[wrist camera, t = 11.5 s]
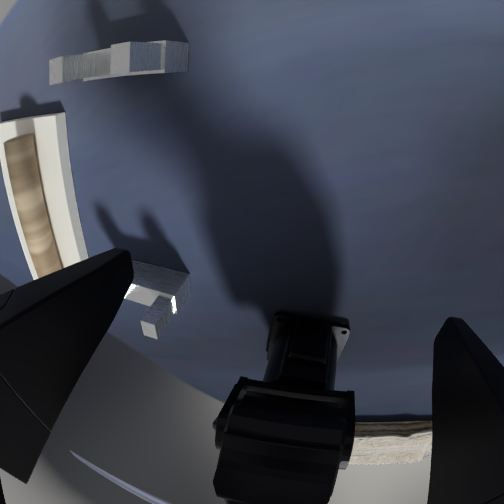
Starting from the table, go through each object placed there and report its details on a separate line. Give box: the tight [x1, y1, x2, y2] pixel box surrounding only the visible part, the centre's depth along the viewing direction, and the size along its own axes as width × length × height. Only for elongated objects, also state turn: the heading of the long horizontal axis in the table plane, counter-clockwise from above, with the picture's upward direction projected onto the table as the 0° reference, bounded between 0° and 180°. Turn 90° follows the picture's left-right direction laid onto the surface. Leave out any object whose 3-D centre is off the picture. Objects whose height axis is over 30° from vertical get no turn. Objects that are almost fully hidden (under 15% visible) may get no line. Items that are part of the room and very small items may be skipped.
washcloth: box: [348, 421, 432, 465], centre depth 34 cm, size 12×18×3 cm, turn 100°
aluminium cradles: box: [49, 40, 191, 339], centre depth 20 cm, size 20×6×6 cm, turn 176°
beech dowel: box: [4, 133, 62, 278], centre depth 26 cm, size 22×3×3 cm
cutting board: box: [0, 112, 88, 280], centre depth 28 cm, size 25×11×1 cm, turn 176°
